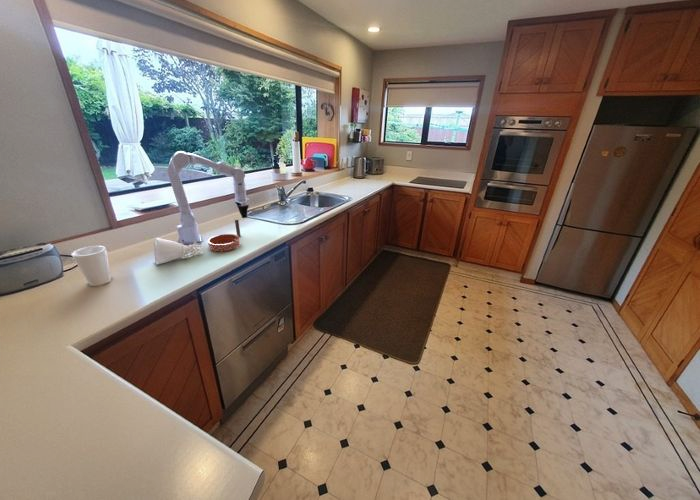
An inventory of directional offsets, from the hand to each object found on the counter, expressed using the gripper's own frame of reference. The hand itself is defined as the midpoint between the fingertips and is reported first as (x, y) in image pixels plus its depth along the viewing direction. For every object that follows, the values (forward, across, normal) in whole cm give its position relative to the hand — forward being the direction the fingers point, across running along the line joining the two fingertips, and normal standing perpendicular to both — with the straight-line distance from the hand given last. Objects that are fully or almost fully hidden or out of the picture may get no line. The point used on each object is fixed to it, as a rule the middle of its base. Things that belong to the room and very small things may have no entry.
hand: (243, 215), depth 154 cm
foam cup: (+10, -33, +58) cm, 67 cm away
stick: (+10, -5, +4) cm, 12 cm away
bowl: (+10, -16, +12) cm, 22 cm away
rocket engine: (+10, -24, +31) cm, 41 cm away
